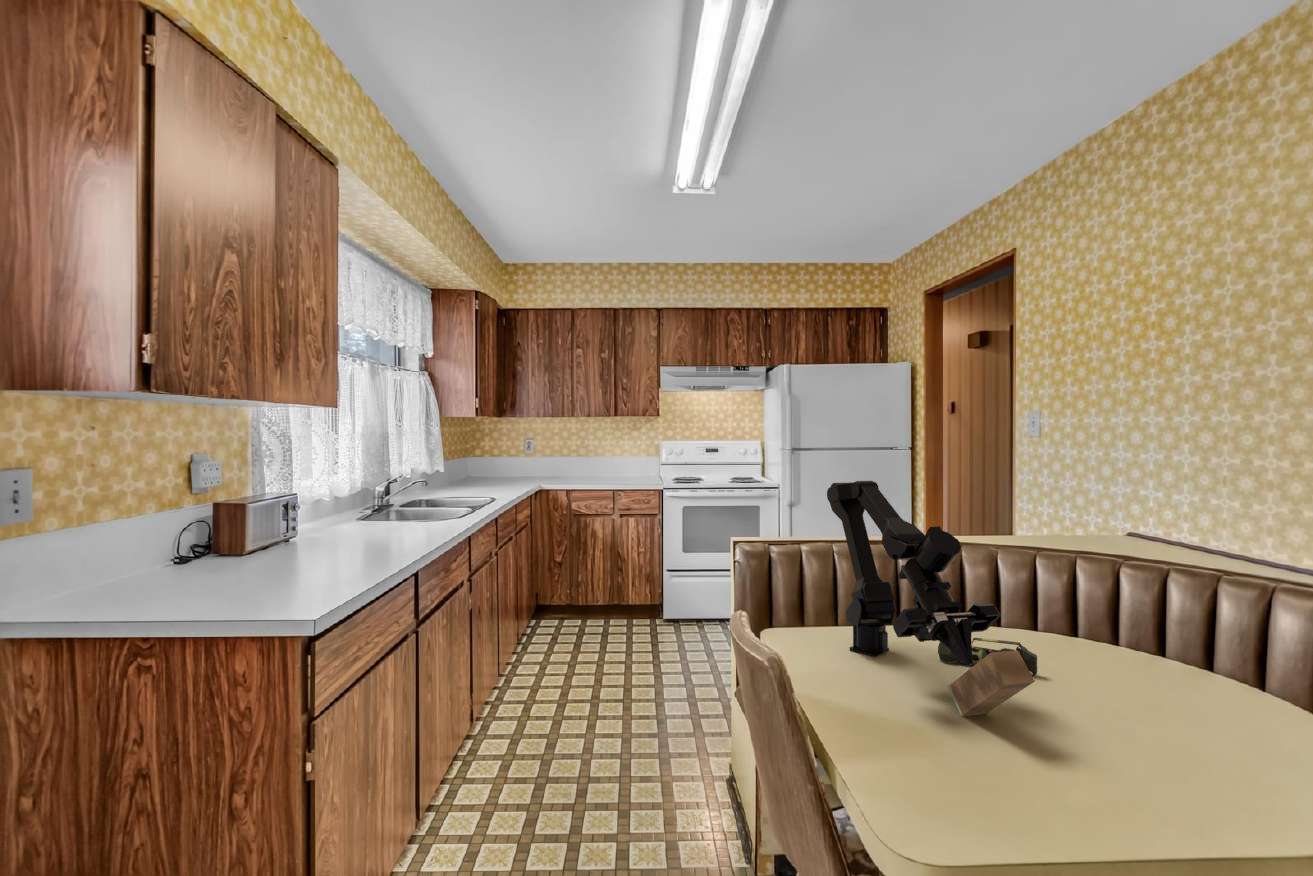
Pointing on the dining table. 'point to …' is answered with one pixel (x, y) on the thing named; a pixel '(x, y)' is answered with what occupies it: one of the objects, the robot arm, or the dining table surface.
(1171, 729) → the dining table surface
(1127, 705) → the dining table surface
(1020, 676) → the walnut block
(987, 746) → the dining table surface
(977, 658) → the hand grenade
